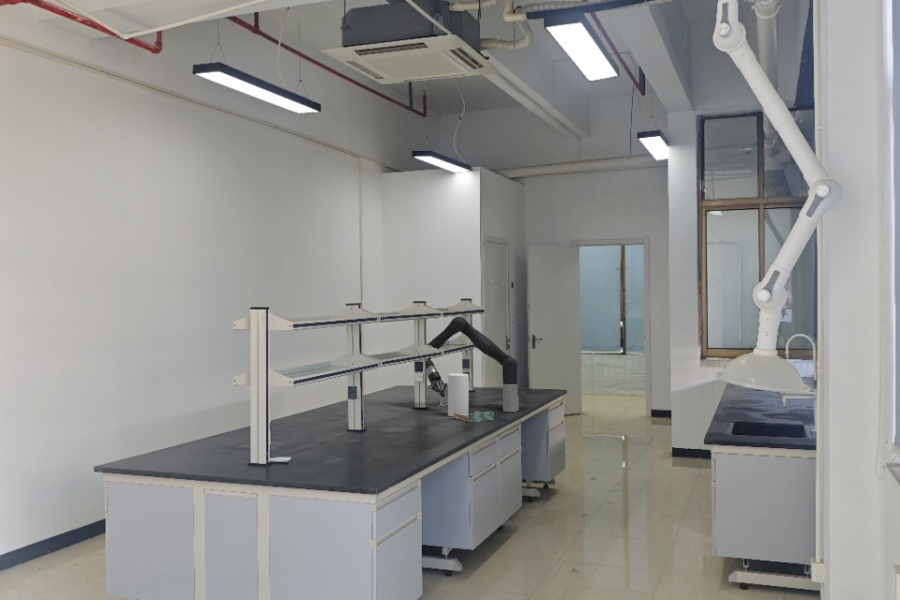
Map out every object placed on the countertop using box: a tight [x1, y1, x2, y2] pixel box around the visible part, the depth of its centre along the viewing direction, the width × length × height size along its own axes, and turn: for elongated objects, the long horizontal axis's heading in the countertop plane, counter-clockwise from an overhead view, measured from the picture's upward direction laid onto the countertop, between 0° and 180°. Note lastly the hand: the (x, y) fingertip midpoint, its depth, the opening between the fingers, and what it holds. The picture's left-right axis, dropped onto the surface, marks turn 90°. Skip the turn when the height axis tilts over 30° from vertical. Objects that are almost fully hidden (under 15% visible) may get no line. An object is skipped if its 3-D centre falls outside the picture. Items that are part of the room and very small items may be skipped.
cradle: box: [453, 410, 495, 424], centre depth 458 cm, size 16×18×5 cm
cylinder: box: [447, 372, 470, 417], centre depth 471 cm, size 12×12×25 cm
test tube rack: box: [436, 384, 448, 407], centre depth 516 cm, size 25×4×13 cm, turn 156°
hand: (443, 396), depth 484 cm, fingers closed
